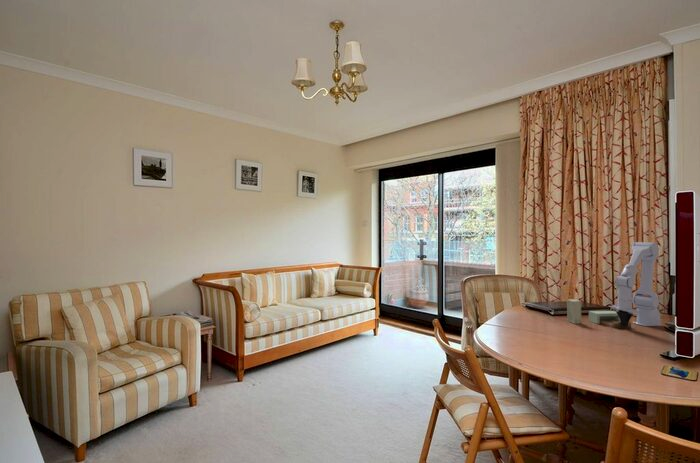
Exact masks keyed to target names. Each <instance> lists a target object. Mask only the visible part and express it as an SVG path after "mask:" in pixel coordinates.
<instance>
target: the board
mask: <svg viewBox="0 0 700 463" xmlns="http://www.w3.org/2000/svg"><path fill="white" fill-rule="evenodd" d="M599 325H604V326H607V327H610V328H612V329H632V322H631V321H629V323H628V326H622V324H621V322H619V321H616V320H613V319H608V320H600V324H599Z"/></svg>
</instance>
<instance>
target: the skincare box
mask: <svg viewBox="0 0 700 463" xmlns="http://www.w3.org/2000/svg"><path fill="white" fill-rule="evenodd" d="M566 313H567V314H566V317H567V322H569V323H572V324H575V325H576V324H577V325H579V324H582V300H578V299H575V298H573V299H572V298H571V299H566Z"/></svg>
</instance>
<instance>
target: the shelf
mask: <svg viewBox="0 0 700 463" xmlns="http://www.w3.org/2000/svg"><path fill="white" fill-rule="evenodd" d="M616 312H617V311H616V310H589V311H588V322H589V323H593V324H596V325H601V324H600V320H608V319H613V320H616V321H619V322H621V321H620V318H619V316H618V314H617V313H616Z"/></svg>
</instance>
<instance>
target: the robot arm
mask: <svg viewBox="0 0 700 463" xmlns="http://www.w3.org/2000/svg"><path fill="white" fill-rule="evenodd" d="M659 249H660V248H659V245H658V243H657V242H645V241H644V242H640V241H634V242H633V243H632V244H631V251H632V255H631V257H630V260H629V263H628V264H625V265H624V268H623V269H622V271H621V273H620V275H618V276H616V277H615V279H614V280H615V281H614V284H615V287H616V288H615V289H616V290H617V305H616V304H613V305H611V309H612V310H615V312H616V313H617V314H618V316H619V318H620V321H621V324H622V326H628V323H629V322H630V321H631V318H632V317H634V316H636V321H632V324H633V323H634V324H637V325H639V326H643V327H662V324H661V312H660V310H659V309H658V307H659V304H660V300H659V294H658V293H657V292H656V291H654V290H653V282H654V273H655V270H654V269H655V260H656V259H658V258H659V251H660V250H659ZM641 262H642V263H641ZM640 263H641V273H640V274H641V276H640V285H639V286H640V287H639V289H637V290H636V291H634V293H633V292H632V290H633V288H634V286H635V282H636V276H637V274H638V272H639V268H638V266H639V264H640ZM632 295H633V296H632ZM633 305H634V306H635V308H636V309H634V308H633V307H632V306H633ZM633 315H634V316H633Z"/></svg>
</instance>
